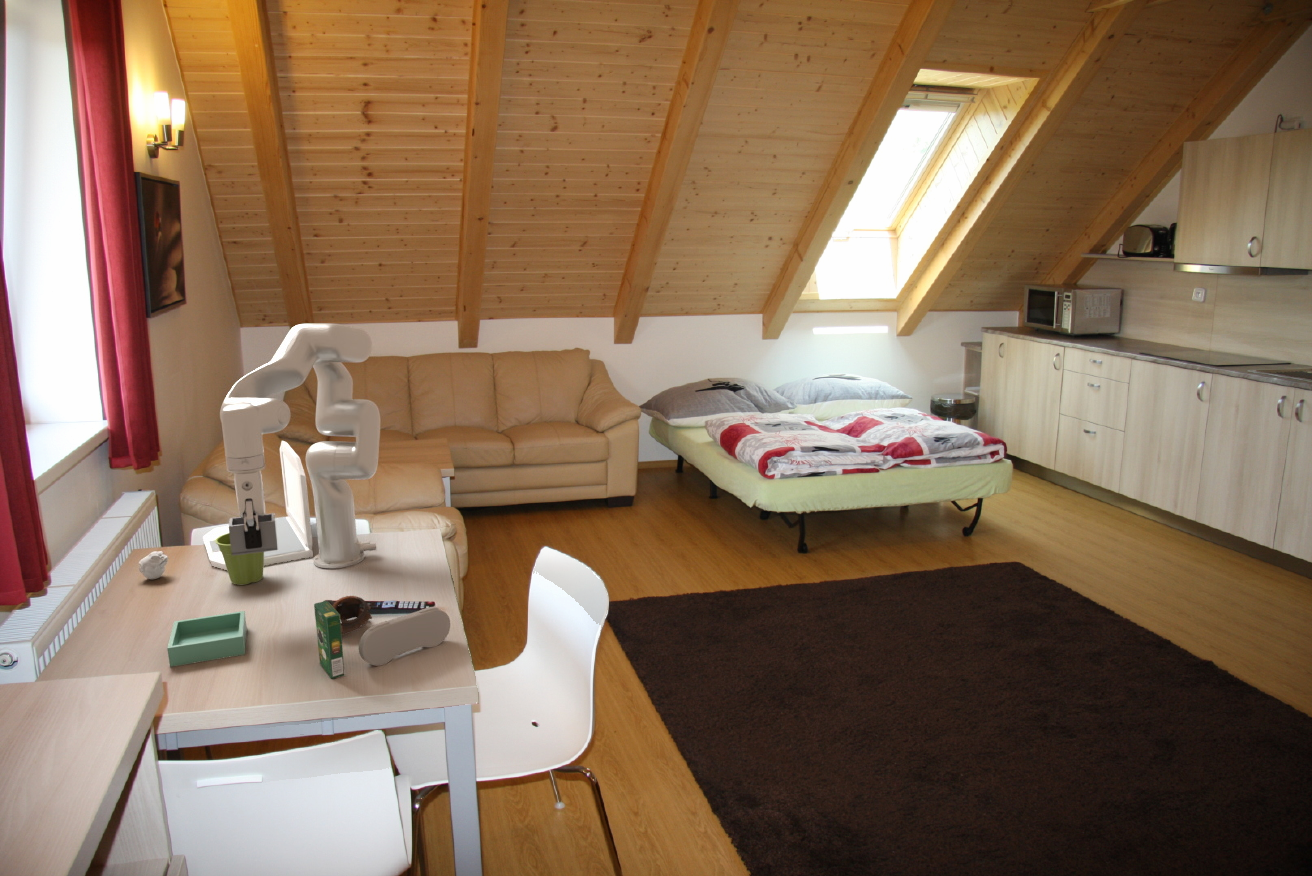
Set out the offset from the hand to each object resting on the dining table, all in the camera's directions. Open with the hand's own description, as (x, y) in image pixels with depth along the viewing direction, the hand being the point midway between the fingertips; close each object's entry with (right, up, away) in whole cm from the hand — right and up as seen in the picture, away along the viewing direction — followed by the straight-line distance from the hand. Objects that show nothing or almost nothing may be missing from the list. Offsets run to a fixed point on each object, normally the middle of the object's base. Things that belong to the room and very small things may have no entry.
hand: (254, 542), depth 199 cm
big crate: (-5, -21, -9) cm, 23 cm away
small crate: (0, -1, 0) cm, 1 cm away
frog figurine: (-37, -12, +29) cm, 48 cm away
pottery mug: (+20, -19, 0) cm, 28 cm away
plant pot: (-14, -13, +27) cm, 33 cm away
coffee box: (+24, -23, -19) cm, 38 cm away
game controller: (+36, -21, -12) cm, 44 cm away
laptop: (-22, -7, +51) cm, 56 cm away
